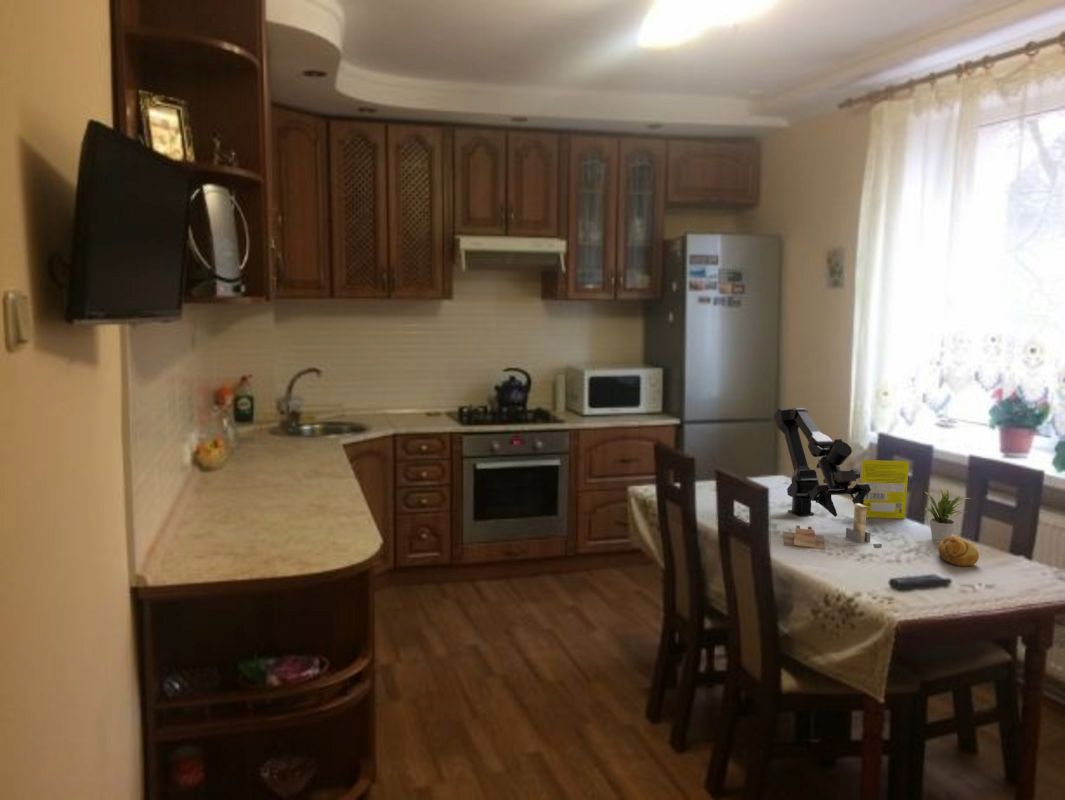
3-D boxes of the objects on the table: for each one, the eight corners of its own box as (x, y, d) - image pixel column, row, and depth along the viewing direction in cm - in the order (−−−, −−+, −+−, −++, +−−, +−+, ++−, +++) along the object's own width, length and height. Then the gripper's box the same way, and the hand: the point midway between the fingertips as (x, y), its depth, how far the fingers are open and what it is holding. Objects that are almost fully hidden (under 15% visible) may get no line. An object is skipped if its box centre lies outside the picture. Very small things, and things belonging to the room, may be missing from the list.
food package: (904, 518, 286) (908, 461, 284) (905, 519, 285) (909, 461, 282) (858, 516, 288) (862, 459, 285) (859, 517, 287) (862, 460, 284)
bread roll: (930, 553, 248) (932, 527, 247) (964, 554, 247) (966, 528, 246) (947, 567, 235) (950, 540, 234) (983, 569, 234) (986, 541, 233)
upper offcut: (795, 534, 254) (795, 528, 254) (814, 536, 253) (814, 529, 252) (795, 537, 251) (796, 531, 250) (814, 539, 249) (814, 533, 249)
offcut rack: (783, 534, 265) (783, 522, 264) (823, 538, 261) (823, 526, 261) (783, 548, 250) (784, 535, 250) (825, 552, 247) (826, 539, 247)
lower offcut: (793, 541, 255) (794, 534, 254) (814, 543, 253) (815, 536, 253) (794, 545, 251) (794, 537, 251) (815, 547, 249) (815, 539, 249)
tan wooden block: (852, 538, 259) (854, 503, 257) (856, 537, 259) (859, 503, 258) (860, 541, 255) (862, 506, 253) (864, 541, 255) (866, 506, 254)
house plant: (978, 549, 253) (982, 496, 250) (931, 547, 253) (935, 495, 251) (956, 535, 267) (961, 485, 265) (912, 534, 267) (916, 484, 265)
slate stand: (833, 538, 261) (834, 526, 261) (862, 537, 263) (863, 524, 263) (852, 548, 252) (853, 535, 251) (881, 546, 254) (882, 533, 253)
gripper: (816, 460, 262) (833, 503, 253) (869, 458, 266) (888, 501, 257) (802, 478, 271) (818, 521, 262) (853, 477, 275) (871, 518, 266)
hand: (849, 515), depth 262 cm, fingers open, 9 cm apart
